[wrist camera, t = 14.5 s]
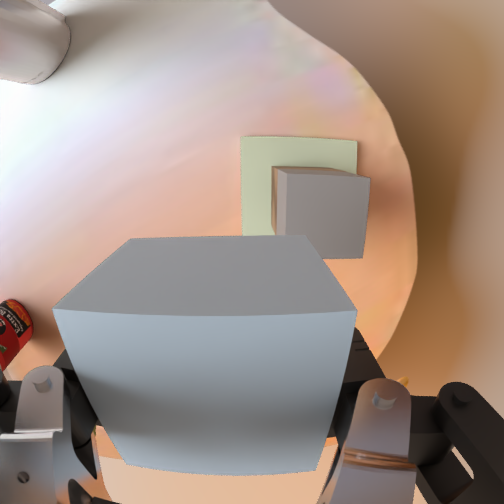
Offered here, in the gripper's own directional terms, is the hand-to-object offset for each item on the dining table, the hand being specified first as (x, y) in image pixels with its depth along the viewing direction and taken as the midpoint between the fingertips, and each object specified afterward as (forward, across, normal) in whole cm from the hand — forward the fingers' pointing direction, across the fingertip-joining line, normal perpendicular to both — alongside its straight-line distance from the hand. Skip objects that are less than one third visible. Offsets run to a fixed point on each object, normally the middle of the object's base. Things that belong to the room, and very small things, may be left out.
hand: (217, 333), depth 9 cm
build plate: (+22, -7, -2) cm, 23 cm away
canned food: (+22, +36, +16) cm, 45 cm away
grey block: (+16, -7, -2) cm, 18 cm away
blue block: (+1, 0, 0) cm, 1 cm away
